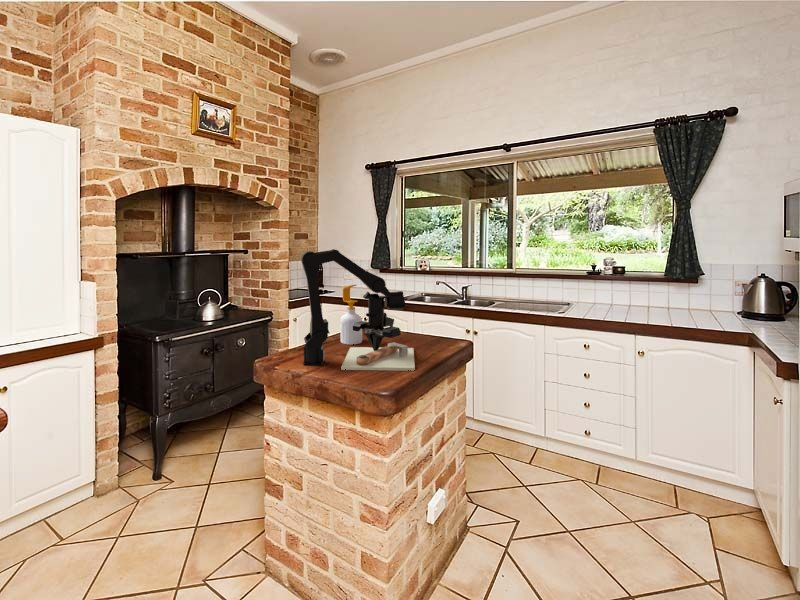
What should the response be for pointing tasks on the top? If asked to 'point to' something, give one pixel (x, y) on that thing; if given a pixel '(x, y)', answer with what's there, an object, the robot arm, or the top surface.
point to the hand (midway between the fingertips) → (376, 351)
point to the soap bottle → (349, 321)
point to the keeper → (400, 348)
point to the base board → (379, 360)
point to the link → (375, 355)
